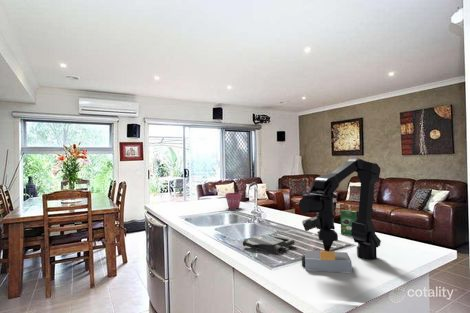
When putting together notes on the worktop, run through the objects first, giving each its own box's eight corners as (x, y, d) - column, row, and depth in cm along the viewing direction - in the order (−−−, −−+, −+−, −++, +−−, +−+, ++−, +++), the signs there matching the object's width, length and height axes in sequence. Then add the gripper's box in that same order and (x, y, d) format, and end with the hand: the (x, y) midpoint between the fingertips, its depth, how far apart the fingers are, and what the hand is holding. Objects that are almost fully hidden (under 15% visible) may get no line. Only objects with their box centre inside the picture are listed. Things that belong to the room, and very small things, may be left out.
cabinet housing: (347, 265, 104) (347, 252, 104) (351, 274, 96) (350, 260, 96) (301, 262, 108) (301, 250, 108) (302, 270, 100) (301, 257, 100)
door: (351, 273, 96) (350, 252, 96) (351, 274, 95) (351, 253, 95) (305, 270, 99) (304, 249, 99) (305, 271, 98) (304, 250, 98)
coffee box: (357, 234, 144) (356, 210, 144) (357, 236, 141) (356, 211, 141) (341, 233, 148) (340, 209, 148) (340, 234, 145) (340, 210, 145)
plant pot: (245, 208, 230) (244, 193, 231) (231, 210, 223) (230, 195, 223) (236, 206, 243) (235, 192, 243) (222, 208, 235) (222, 193, 235)
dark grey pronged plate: (281, 257, 115) (281, 245, 115) (241, 249, 126) (241, 238, 126) (295, 247, 128) (295, 236, 128) (258, 240, 140) (258, 230, 140)
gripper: (303, 206, 111) (304, 244, 110) (303, 215, 93) (304, 260, 92) (331, 206, 108) (332, 245, 108) (337, 216, 90) (338, 262, 90)
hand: (326, 252), depth 99 cm, fingers closed
